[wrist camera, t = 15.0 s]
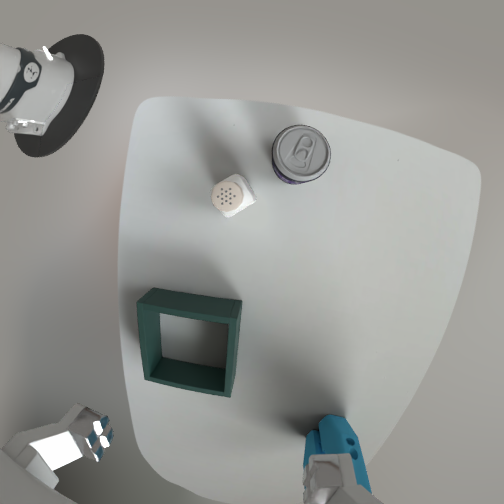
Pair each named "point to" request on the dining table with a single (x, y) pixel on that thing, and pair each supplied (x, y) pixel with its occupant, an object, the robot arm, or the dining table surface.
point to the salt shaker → (232, 195)
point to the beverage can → (300, 154)
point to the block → (337, 445)
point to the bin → (179, 371)
